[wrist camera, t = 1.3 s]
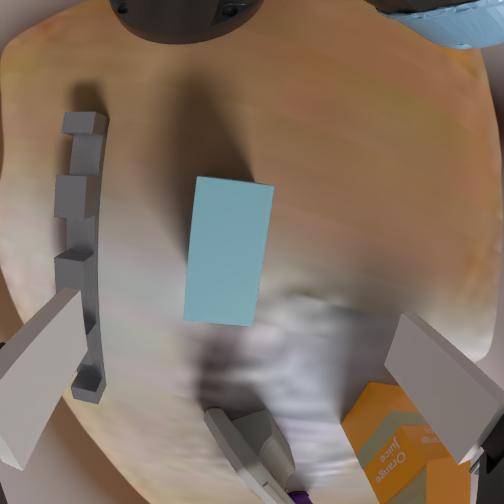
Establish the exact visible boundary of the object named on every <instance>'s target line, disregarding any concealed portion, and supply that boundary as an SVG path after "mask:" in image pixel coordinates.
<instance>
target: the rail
mask: <svg viewBox="0 0 504 504" xmlns="http://www.w3.org/2000/svg"><path fill="white" fill-rule="evenodd" d="M109 120H110V118H108V117H106V116H104V115H102V114H100V113H98V112H65V114H64V120H63V126H62V132H61V133H64V134H69V135H73V136H74V138H73V145H72V153H71V161H70V171H69V174H66V175H56V188H55V206H54V217H59V218H67V220H66V251H65V252H63V253H61V254H59V255H58V256H56V257H54V263H55V282H56V294H57V293H58V292H60V291H61V290H62V289H63V288H64V287H65V288H71V289H78V290H81V300H82V310H83V319H84V327H85V334H86V341H87V348H88V351H87V352H86V354H85V356H84V357H83V359H82V361H81V362H80V364H79V366H78V367H77V370H78V374H77V376H76V378H75V380H74V381H73V383H72V385H71V390H72V394H73V398H74V399H78V400H82V401H86V402H90V403H95V404H99V401H100V399H101V396H102V394H103V392H104V389H105V387H106V379H105V371H104V363H103V354H102V345H101V333H100V320H99V302H98V224H99V205H100V192H101V180H102V170H103V162H104V153H105V146H106V139H107V132H108V126H109Z"/></svg>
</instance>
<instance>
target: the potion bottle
mask: <svg viewBox="0 0 504 504" xmlns="http://www.w3.org/2000/svg"><path fill="white" fill-rule="evenodd" d="M288 496H289V497H290V498H291V499H292V500H293V501H294V503H295V504H313V503H312V502H311V500H310V499H309V497H308V496H309V495H308V494H307V493H306V491H294V492H291V493H288Z"/></svg>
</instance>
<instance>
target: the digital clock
mask: <svg viewBox="0 0 504 504" xmlns="http://www.w3.org/2000/svg"><path fill="white" fill-rule="evenodd" d="M204 421H205V423H206V425H207V426H208V428H209V430H210V431H211V433H212V435H213V436H214V438H215V440H216V441H217V443H218V445H219V446H220V448H221V450H222V451H223V453H224V454H225V456H226V458H227V459H228V461H229V462H230V464H231V465H232V467H233V468H234V470H235V471H236V473H237V474H238V475H239V476H240V477H241V478H242V479H243V480H244V482H245V483H246V484H247V485H248V486H249V487H250V488H251V489H252V490H253V491H254V492H255V493H256V494H257V495H258V496H259V497H260V498H261V499H262V500H263V501H264V502H265V503H266V504H295V503H294V501H293V500H292V499H291V498H290V497H289V496H288V494H287V491H288V490H287V489H285V485H286V482H287V480H288V478H289V476H290V475H291V474H292V473H293V472H294V471H295V463H294V460H293V456H292V453H291V449H290V446H289V445H288V443H287V441H286V440H285V438H284V436H283V435H282V433H281V431H280V430H279V428H278V426H277V425H276V423H275V421H274V419H273V418H272V416H271V414H270V413H269V411H268V409H263V410H260V411H257V412H254V413H252V414H249V415H246V416H243V417H240V418H237V419H234V420H229V418H228V417H227V416H226V414H225V413H224V411H223V410H222V409H219V408H210V409H208V410H207V411H206V413H205V416H204Z"/></svg>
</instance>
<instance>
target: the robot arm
mask: <svg viewBox="0 0 504 504" xmlns="http://www.w3.org/2000/svg"><path fill="white" fill-rule="evenodd" d="M109 1H110V4H111V7H112V9H113V11H114V13H115V15H116V16H117V18H118V19H119V21H120V22H121V24H122V25H123V26H124V27H125V28H126V29H127V30H129V31H130V32H131V33H133V34H134V35H136V36H138V37H140V38H143V39H145V40H148V41H152V42H157V43H163V44H191V43H198V42H203V41H207V40H211V39H214V38H217V37H220V36H222V35H225V34H227V33H229V32H231V31H233V30H235V29H237V28H238V27H240V26H241V25H243V24H244V23H245V22H247V21H248V20H249V19H250V18H251V17H252V16H253V15H254V14H255V13H256V12H257V11H258V9H259V8H260V6H261V5H262V3H263V1H264V0H109ZM364 1H366V2H368V3H369V4H371V5H373V6H375V8H376V9H377V11H378V12H379V13H380V14H382V15H383V16H385V17H387V18H391V19H395V20H397V21H399V22H400V23H402V24H404V25H405V26H407V27H409V28H410V29H412V30H413V31H415V32H416V33H418V34H419V35H421V36H422V37H424V38H426V39H427V40H429V41H431V42H433V43H435V44H437V45H440V46H444V47H447V48H453V49H468V48H472V47H475V48H483V47H489V46H493V45H497V44H500V43H503V42H504V0H364ZM87 351H88V348H87V341H86V334H85V327H84V319H83V310H82V300H81V290H78V289H71V288H65V287H64V288H63V289H62V290H61V291H60V292H58V293H57V294H56V295H55V296H54V297H53V298H52V299H51V300H50V301H49V302H48V303H47V304H45V305H44V306H43V307H42V308H41V309H40V310H39V311H38V312H37V313H36V314H35V315H34V316H33V317H32V318H31V319H30V320H29V321H28V322H27V323H26V324H25V325H24V326H23V327H22V328H21V329H20V330H19V331H18V332H17V333H16V334H15V335H14V336H13V337H12V338H11V339H10V340H9V341H8V342H7V343H4V342H2V343H0V458H1V460H2V461H3V462H4V463H7V464H9V465H11V466H13V467H15V468H18V469H20V470H22V471H24V468H25V466H26V464H27V462H28V460H29V458H30V456H31V454H32V451H33V449H34V447H35V445H36V443H37V441H38V439H39V437H40V435H41V433H42V431H43V429H44V427H45V425H46V423H47V421H48V420H49V418H50V416H51V414H52V412H53V410H54V408H55V406H56V404H57V403H58V401H59V399H60V397H61V395H62V394H63V392H64V390H65V388H66V387H67V385H68V383H69V381H70V379H71V378H72V376H73V374H74V373H75V371H76V369H77V367H78V366H79V364H80V362H81V361H82V359H83V357H84V356H85V354H86V352H87ZM384 366H385V367H386V368H387V370H388V371H389V372H390V374H391V375H392V376H393V378H394V379H395V380H396V381H397V383H398V384H399V385H400V387H401V388H402V389H403V391H404V392H405V393H406V395H407V396H408V397H409V399H410V400H411V401H412V403H413V404H414V405H415V407H416V408H417V409H418V411H419V412H420V413H421V415H422V416H423V417H424V419H425V420H426V421H427V423H428V424H429V425H430V427H431V428H432V429H433V431H434V432H435V433H436V435H437V436H438V438H439V439H440V440H441V442H442V443H443V444H444V446H445V447H446V449H447V450H448V451H449V453H450V454H451V456H452V457H453V458H454V460H455V461H456V463H457V464H458V465H459V464H461V463H463V462H466V461H468V460H470V459H472V458H473V456H474V455H475V454H476V453H477V451H478V450H479V449H480V447H482V448H483V449H484V450H485V451H484V452H483V454H482V455H481V456H480V457H479V459H478V460H477V461H476V462H475V464H474V465H473V466H472V467H471V468H470V471H469V473H472V472H473V471H474V469H475V468H476V467H479V468H478V470H477V471H476V472H475V473H474V474H476V475H479V480H478V491H477V500H476V504H504V391H503V390H502V389H501V388H500V387H499V386H498V385H497V384H496V383H495V382H494V381H493V380H492V379H490V378H489V377H488V376H487V375H486V374H485V373H484V372H483V371H482V370H481V369H480V368H478V367H477V366H476V365H475V364H474V363H473V362H472V361H471V360H470V359H468V358H467V357H466V356H465V355H464V354H463V353H462V352H461V351H459V350H458V349H457V348H456V347H455V346H454V345H453V344H451V343H450V342H449V341H448V340H447V339H446V338H444V337H443V336H442V335H441V334H440V333H439V332H437V331H436V330H435V329H434V328H433V327H432V326H430V325H429V324H428V323H427V322H426V321H424V320H423V319H422V318H421V317H420V316H418V315H417V314H416V313H415V312H414V313H402V314H401V317H400V320H399V323H398V326H397V329H396V332H395V335H394V338H393V341H392V344H391V347H390V349H389V352H388V355H387V357H386V360H385V363H384ZM0 504H7V501H6V498H5V495H4V492H3V489H2V486H1V483H0Z"/></svg>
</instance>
